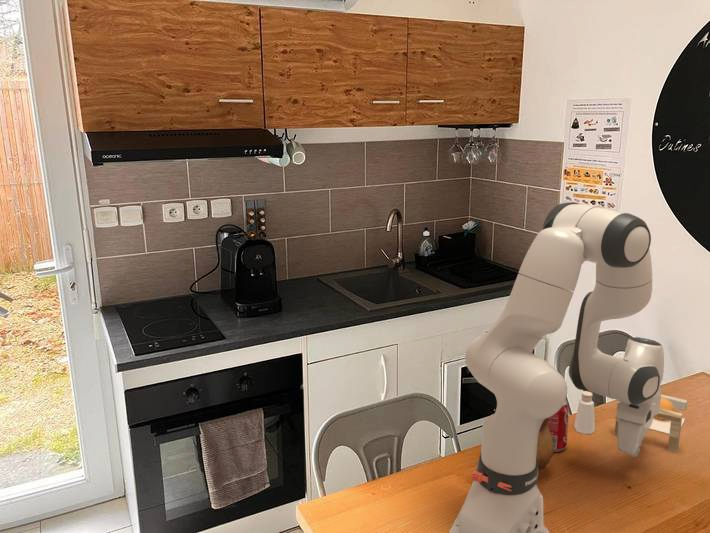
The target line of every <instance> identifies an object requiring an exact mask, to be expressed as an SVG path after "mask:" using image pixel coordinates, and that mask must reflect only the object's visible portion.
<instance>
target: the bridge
mask: <svg viewBox="0 0 710 533" xmlns="http://www.w3.org/2000/svg"><path fill="white" fill-rule="evenodd" d="M618 406H619V401H618V400H617V404H616V409H617V408H618ZM655 416H656V417H660V418H664V419H668V420H671V425H670V434H668V444H667V451H668V452H671V453H675V454H677V453H678V450H679V446H680V438H681V429H682V427H681V423H682V418H683V413H681V412H676V411H674V412H673V411H669V410H665V409H661V408H660V410H659V413H658V414H657V415H655ZM618 421H619V418H617V417H616V416H615V426H614V437H618Z"/></svg>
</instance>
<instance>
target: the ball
mask: <svg viewBox="0 0 710 533" xmlns="http://www.w3.org/2000/svg"><path fill="white" fill-rule="evenodd" d="M660 408H661V409H665V410H669V411H673V412H675V408H674V407H673V404H672V403H671V402H670V401H669V400H667V399H665V398H661V401H660ZM655 417H656V416H655ZM657 418H659V419H664V418H660V417H657Z"/></svg>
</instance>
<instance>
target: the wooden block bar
mask: <svg viewBox="0 0 710 533" xmlns="http://www.w3.org/2000/svg"><path fill="white" fill-rule="evenodd" d="M661 398H665V399H667V400H669V401H670V402H671V403H672V404H673V407H674V409H676V410H681V411H686V409H687V404H688V400H687V399H682V398H680V397H679V398H678V397H674V396H670V395H666V394H662V393H661Z"/></svg>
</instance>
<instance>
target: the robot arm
mask: <svg viewBox="0 0 710 533" xmlns="http://www.w3.org/2000/svg"><path fill="white" fill-rule="evenodd" d="M542 226H543V227H542V229H541V230H540V231H539V232H538V233H537V235H536V236H535V238H534V240H533V241H532V243H531V245H530V246H529V248H528V250H527V252H526V254H525V256H524V258H523V261H522V263H521V265H520V267H519V270H518V273H517V276H516V278H515V281H514V284H513V287H512V289H511V291H510V293H509V297H508V300H507V302H506V304H505V307H504V309H503V310H502V313H500V316H499V317H498V319H497V320H496V321H495V323H494V324H493V325H492V326H491V328H489V329H488V331H486V332H485V333H484V334H481V335H479V336H477V337H476V338H474V339H473V340H472V341H471V342H470V343H469V345H468V347H467V349H466V351H465V356H464V360H465V364H466V368H467V369H468V370H469V372H470V374H471V375H472V376H473V377H474V379H475V380H476V381H477V383H478V384H480V385H482V386H483V387H485V388H486V389H487V390H489V391H490V392H491V393H493V395H494V396H495V399H496V409H495V413H493V414H491V415H490V416H489V415H488V417H486V419H485V420H484V421H483V423H482V429H481V452H480V455H479V457H478V461H477V463H476V464H477V466H476V470H473V471H472V473H471V476H470V478H471V480H472V484H471V486H470V488H469V491H468V493H467V496H466V498H465V500H464V502H463V504H462V505H461V508H460V510H459V512H458V514H457V516H456V518H455V520H454V522H453V524H452V526H451V527H450V530H448V533H550V531H549V529H548V528H547V527H546V526H545V525H544V497H543V494H542V493H541V492H540V489H539V488H538V485H537V483H538V479H539V478H538V476H539V472H538V463H537V461H536V455H537V443H538V435H539V430H540V427H541V425H542V423H543V421H544V420H545V419H546V418H549V417H551V416H553V415H554V414H555V413H557V412H558V411H559V410H560V409H561V407H562V406H563V404H564V402H565V399H566V400H567V394H568V386H567V381H566V380H565V378H564V377H563V375H562V374H560V373H559V371H558V370H557V369H556V368H555V367H554V366H553V365H552V364H551V363H550V362H549V361H546V360H545V359H543V358H541V357H540V356H537V355H536V354H535V353H533V351H534V349H535V348H536V346H537V344H538V343H539V342H540V341H541V340H542V338H544V337H545V336H546V335H551V334H554V333H556V332H557V331H559V329H560V328H561V327H562V325H563V322H564V319H565V316H566V315H567V312H568V310H569V306H570V303H571V301H572V298H573V294H574V292H575V290H576V286H577V284H578V281H579V276H580V273H581V270H582V265H583V264H584V263H585V261H588V262H591V263H595V284H594V289H593V290H592V291H589V292H588V293H587V294H586V295H585V296H584V298H583V300H582V302H581V305H580V307H579V314H578V320H577V325H576V334H575V339H574V347H573V352H572V356H571V360H570V363H569V366H568V376H569V379H570V381H571V383H572V384H573V386H574V387H575V388H576V389H577V390H580V391H588V392H591V393H592V394H593V393H594V394H597V395H599V396H602V397H604V398H605V397H606V398H608V399H612V400H615V401H617V402H618V401H619V406H618V408H617V407H616V413H615V418H616V417H617V418H619V421H618V436H617V447H618V450H619V451H620V452H623V453H627V454H628V455H630V456H631V457H635V458H636V457H637V456H638V454H639V453H640V451H641V445H642V442H643V440H644V438H645V437H646V435H647V433H648V431H649V430H650V429H649V428H650V426H651V424H652V422H653V417H654V416H655V415H657V414H658V413H659V410H660V401H661V394H662V390H661V385H662V384H661V383H662V381H663V379H664V370H665V350H664V347H663V344H661V343H660V342H658V341H656V340H653V339H649V338H645V337H644V338H643V337H637V336H635V337H631V338H628V340H627V342H626V343H627V344H626V346H625V350H624V356H623V358H622V357H617V356H614V355H610V354H606V353H605V352H602V350H600V349H599V348H598V342H599V335H600V330H601V323H602V322H605V321H610V320H620V319H624V318H628V317H629V318H630V317H631V316H633V315H636V314H638V313H640V312H641V311H642V310H644V309H645V308H646V307H647V305H648V304H649V303H650V301H651V297H652V293H653V265H652V264H653V263H652V257H651V256H652V255H651V250H650V247H651V242H652V235H651V231H650V229H649V226H648V225H647V223H646V221H645V220H643V219H642V218H640V217H638V216H636V215H634V214H632V213H628V212H621V211H617V210H614V209H610V208H606V207H604V206H600V205H595V204H586V203H585V204H584V203H578V202H575V201H574V202H573V201H572V202H563V203H558V204H556V205H555V206H553V208H552V209H551V210H550V211H549V212H548V213H547V215H546V218H545V219H544V222H543V225H542Z"/></svg>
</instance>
